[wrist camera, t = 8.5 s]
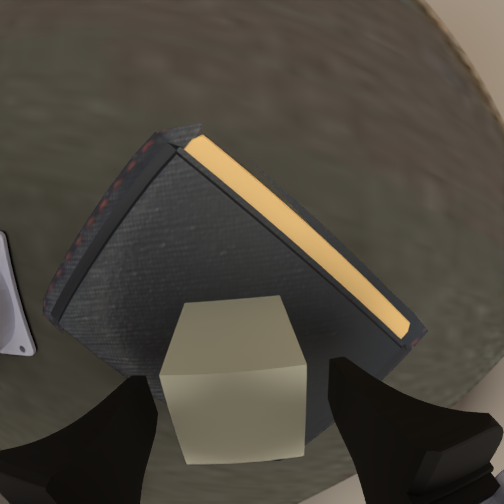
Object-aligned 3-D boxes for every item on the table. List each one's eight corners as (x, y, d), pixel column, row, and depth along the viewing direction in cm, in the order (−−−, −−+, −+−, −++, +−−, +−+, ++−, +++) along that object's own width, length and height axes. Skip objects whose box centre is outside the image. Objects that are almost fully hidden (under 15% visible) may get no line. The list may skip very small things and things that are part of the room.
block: (198, 379, 16) (186, 464, 10) (184, 302, 15) (158, 375, 9) (282, 373, 16) (304, 455, 10) (279, 295, 15) (306, 364, 9)
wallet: (22, 313, 14) (183, 83, 12) (38, 301, 16) (189, 93, 14) (271, 480, 18) (442, 341, 16) (269, 462, 20) (427, 328, 18)
